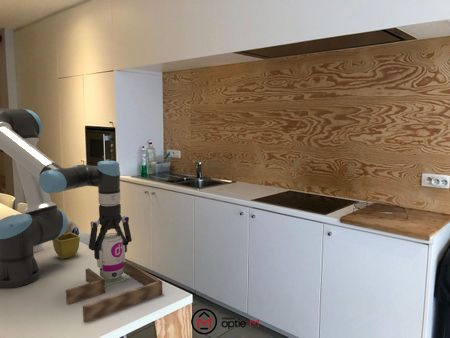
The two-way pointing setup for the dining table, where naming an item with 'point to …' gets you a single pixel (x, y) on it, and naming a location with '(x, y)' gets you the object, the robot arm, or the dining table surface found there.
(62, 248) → the flower pot
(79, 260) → the dining table surface
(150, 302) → the dining table surface
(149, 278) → the channel walls
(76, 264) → the dining table surface
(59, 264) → the dining table surface
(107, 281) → the pad
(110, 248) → the supplement can
